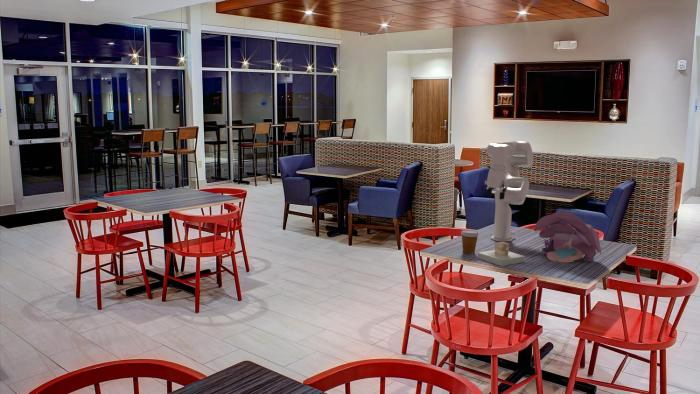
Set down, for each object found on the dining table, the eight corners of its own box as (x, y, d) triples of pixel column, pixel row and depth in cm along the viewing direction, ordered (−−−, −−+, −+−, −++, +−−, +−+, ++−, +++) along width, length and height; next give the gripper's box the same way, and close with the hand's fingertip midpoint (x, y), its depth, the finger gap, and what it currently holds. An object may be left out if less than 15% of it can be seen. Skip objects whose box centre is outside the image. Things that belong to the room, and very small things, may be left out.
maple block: (501, 252, 330) (501, 241, 329) (508, 254, 326) (509, 243, 325) (494, 253, 327) (495, 242, 326) (501, 256, 323) (502, 244, 322)
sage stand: (500, 254, 339) (500, 248, 338) (524, 261, 325) (524, 256, 324) (477, 258, 330) (477, 252, 329) (501, 266, 316) (501, 260, 315)
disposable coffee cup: (464, 255, 334) (465, 233, 332) (456, 250, 343) (458, 229, 341) (480, 254, 337) (481, 233, 335) (472, 250, 346) (473, 229, 344)
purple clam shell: (530, 266, 335) (526, 217, 326) (540, 248, 354) (536, 202, 346) (600, 270, 317) (598, 219, 309) (605, 251, 337) (604, 202, 329)
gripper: (481, 166, 353) (479, 195, 356) (504, 169, 338) (502, 200, 341) (491, 165, 357) (489, 194, 360) (513, 169, 342) (511, 199, 345)
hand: (495, 197), depth 350 cm, fingers open, 9 cm apart
